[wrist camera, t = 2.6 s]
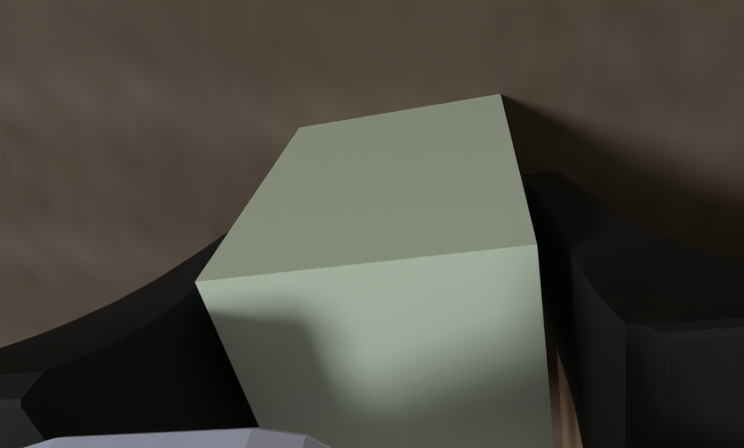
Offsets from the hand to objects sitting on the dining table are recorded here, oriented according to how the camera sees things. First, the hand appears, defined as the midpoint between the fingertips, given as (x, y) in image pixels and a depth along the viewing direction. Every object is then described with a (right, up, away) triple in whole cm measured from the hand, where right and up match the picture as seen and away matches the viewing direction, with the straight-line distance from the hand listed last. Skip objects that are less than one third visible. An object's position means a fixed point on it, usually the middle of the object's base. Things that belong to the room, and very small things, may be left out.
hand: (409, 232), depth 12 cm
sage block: (0, +1, +1) cm, 2 cm away
